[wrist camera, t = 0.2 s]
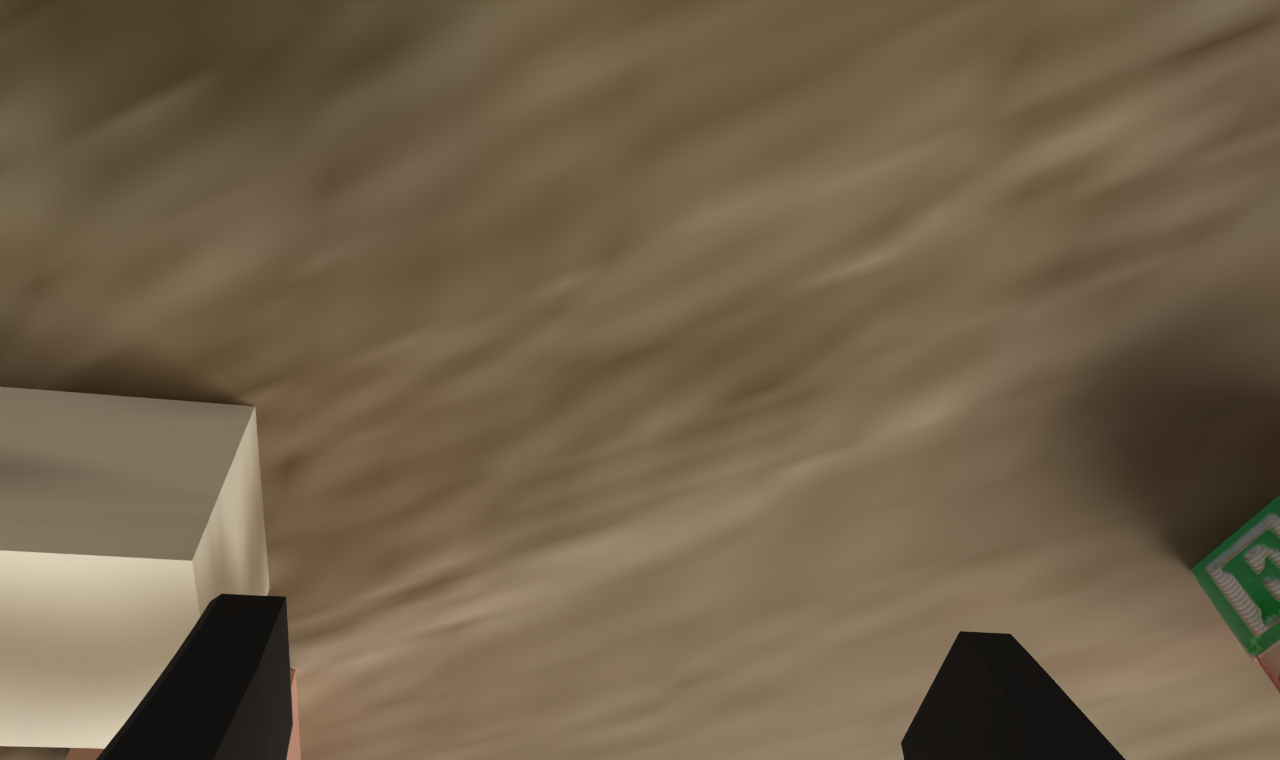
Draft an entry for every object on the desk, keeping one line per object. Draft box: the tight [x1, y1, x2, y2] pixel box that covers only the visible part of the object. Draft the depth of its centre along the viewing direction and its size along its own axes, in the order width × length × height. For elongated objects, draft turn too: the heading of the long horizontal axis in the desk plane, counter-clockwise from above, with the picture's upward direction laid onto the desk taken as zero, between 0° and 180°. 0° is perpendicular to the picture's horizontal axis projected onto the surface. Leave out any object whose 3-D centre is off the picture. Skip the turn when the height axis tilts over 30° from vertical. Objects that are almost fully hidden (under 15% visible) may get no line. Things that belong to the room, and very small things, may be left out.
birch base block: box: [0, 387, 269, 749], centre depth 19 cm, size 6×6×4 cm
